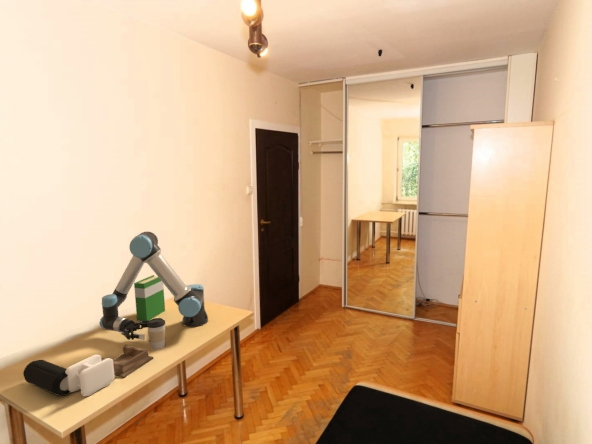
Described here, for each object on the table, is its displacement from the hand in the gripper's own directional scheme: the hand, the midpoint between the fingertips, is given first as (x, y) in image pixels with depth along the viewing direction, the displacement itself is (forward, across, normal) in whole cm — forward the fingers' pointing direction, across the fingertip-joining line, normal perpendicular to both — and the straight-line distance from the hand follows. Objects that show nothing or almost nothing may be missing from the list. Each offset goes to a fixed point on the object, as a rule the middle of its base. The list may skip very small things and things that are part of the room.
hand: (154, 331), depth 192 cm
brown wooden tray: (-1, +19, -8) cm, 21 cm away
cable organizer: (+1, +39, -9) cm, 40 cm away
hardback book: (-34, -32, -9) cm, 47 cm away
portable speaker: (-15, +45, -9) cm, 48 cm away
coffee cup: (+1, 0, -9) cm, 9 cm away
